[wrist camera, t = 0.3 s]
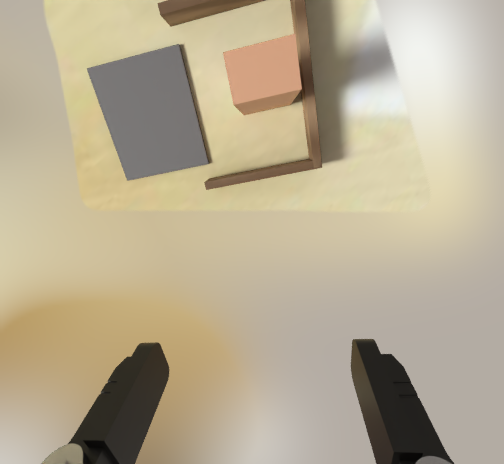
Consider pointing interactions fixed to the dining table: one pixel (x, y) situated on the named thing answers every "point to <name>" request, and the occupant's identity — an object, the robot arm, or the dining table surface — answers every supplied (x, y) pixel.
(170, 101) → the charcoal mat
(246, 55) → the tall peach block
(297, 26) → the walnut open frame
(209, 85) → the dining table surface
